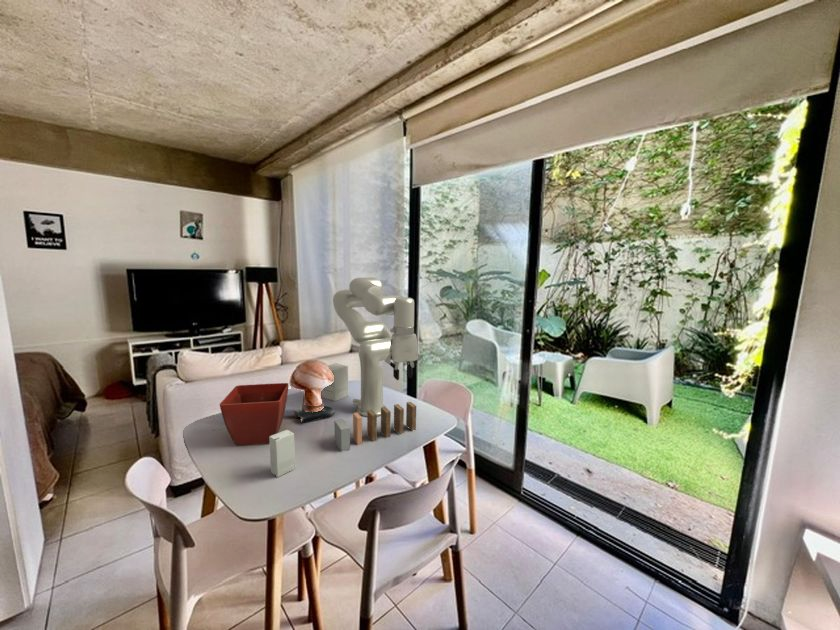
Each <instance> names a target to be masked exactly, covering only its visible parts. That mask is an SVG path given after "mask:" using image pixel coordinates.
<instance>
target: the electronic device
mask: <svg viewBox="0 0 840 630" xmlns="http://www.w3.org/2000/svg"><path fill="white" fill-rule="evenodd" d="M323 406H324V408H323V409H322V410H321V411H318V412H313V413H312V412H311V413H310V412H305V411H304V410H301V411H295V410H294V417H295V418H297V417H300V418H302V422H301V420H300V421H299V422H301V424H304V423H310V422H312V421H316V420H323V419H329V418H330V417H332V416H333V415H334V414H335V410H334V409H333V407H332V406H326V405H323Z"/></svg>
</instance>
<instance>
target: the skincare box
mask: <svg viewBox="0 0 840 630" xmlns="http://www.w3.org/2000/svg"><path fill="white" fill-rule="evenodd" d="M269 442H270V443H269V454H270V455H269V459H270V472H271V473H272V472H273V473H274V474H275V475H276V477H277V478H279V477H281V476H283V475H285V474H288V473H289V471H290V472H292V471H293V470H296V452H295V449H296V448H295V446H296V445H295V433H294V432H292V431H291V430H289V429H286V430H283V431H280V432H278V433H277V434H274V435H272V436H269ZM291 470H292V471H291ZM273 473H272V474H273ZM274 474H273V475H274ZM275 475H274V476H275Z"/></svg>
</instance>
